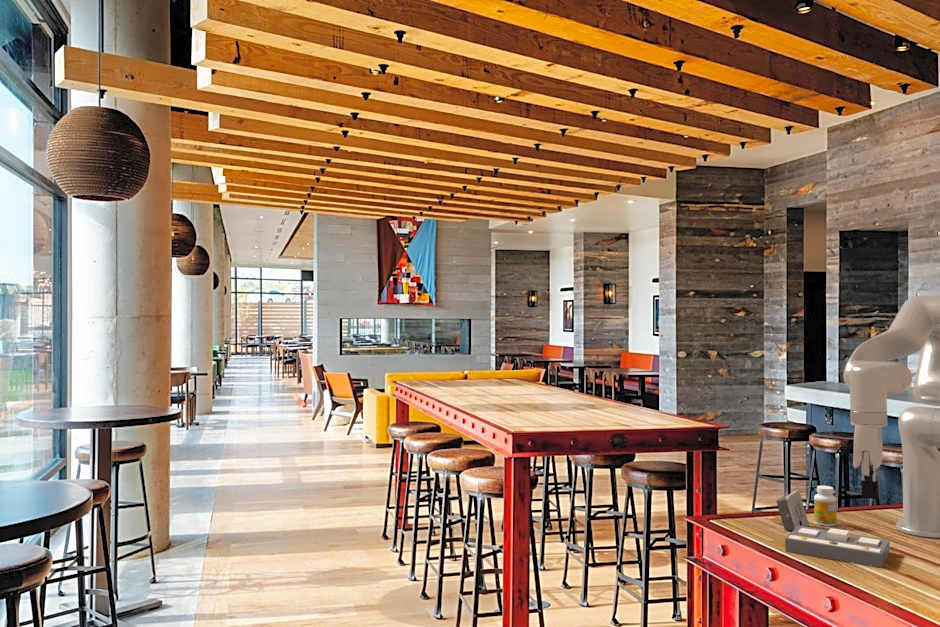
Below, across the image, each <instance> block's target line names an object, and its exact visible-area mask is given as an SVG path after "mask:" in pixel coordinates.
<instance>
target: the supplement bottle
mask: <svg viewBox="0 0 940 627" xmlns="http://www.w3.org/2000/svg"><path fill="white" fill-rule="evenodd" d="M834 490H835V488H834V487H833V486H830V485H829V486H828V485H817V487H816V492H817V494H815V495H814V497H813V498H814V501H813V506H814V509H813V510H814V511H813V514H814V515H813V516H814V518H813V521H814V524H816V525H818V526H821V525H825V526H824V527H835V526H836V525H837V522H838V521H837V520H838V519H837V506H838V505H837V503H838V502H837V501H838V500H837V497H836V496H835V495H834V492H835V491H834ZM834 525H835V526H834Z"/></svg>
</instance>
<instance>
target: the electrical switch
mask: <svg viewBox="0 0 940 627" xmlns="http://www.w3.org/2000/svg"><path fill="white" fill-rule="evenodd" d="M775 503H776V505H777V509H778V512H779V514H780V519H781V522H782V525H783V528H784V531H785V530H787V531H793V530H794V529H795V528H796V527H797V526H804V527H809V525H810V524H809V523H810V522H809V519H808V516H807V513H806V509H805V507H804V503H803V499H802V496H801V494H800V491H799V490H794V491H792V492H791V493H789V494H784V495H783V496H781V497H780V498H778V499H776V502H775Z"/></svg>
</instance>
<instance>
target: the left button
mask: <svg viewBox="0 0 940 627" xmlns="http://www.w3.org/2000/svg"><path fill="white" fill-rule="evenodd" d="M798 534H799V535H806V536H812V537H817V536H818V535H819V530H812V529H806V528H801V529H800V530H799V531H798Z"/></svg>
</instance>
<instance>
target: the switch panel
mask: <svg viewBox="0 0 940 627" xmlns="http://www.w3.org/2000/svg"><path fill="white" fill-rule="evenodd" d="M801 528H806V529H812V530H819V535H818V536H817V537H812V536H806V535H799V534H798V531H799V530H800V529H801ZM828 531H829V529H824V528H823V529H822V528H817V527H811V526H810V527H809V526H807V527H804V526H797V527H796V528H795V529H794V530H791V532H790V533H789V534H788V535H787V536H786V537H785V538H784V540H785V542H784V543H785V544H784V546H785V552H787V551H788V553H793V554H799V555H804V556H810V557H811V556H812V557H816V556H817V557H818V558H822V557H825V558H824V559H828V558H831V559H830V560H833V559H837V560H836V561H839V560H842V561H841V562H845V561H848V562H847V563H851V562H854V563H853V564H857V563H858V565H862V564H865V565H864V566H868V565H872V566H871V567H874V566H877V567H876V568H880V567H882V568H883V566H884V564H885V562H886V560H887V558H888V557H889V555H888V554H890V553H889V552H890V551H891V550H890V547H891V546H890V544H891V542H890V539H888V538H884V537H883V538H882V537H878V536H877V537H875V536H870V535H861V534H856V533H850V532H849V540H848V542H843V541H837V540H831V539H827V532H828ZM861 537H864V538H871V539H877V540H880V546H879V547H875V546H869V545H862V544H858V540H859V539H860V538H861Z"/></svg>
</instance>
